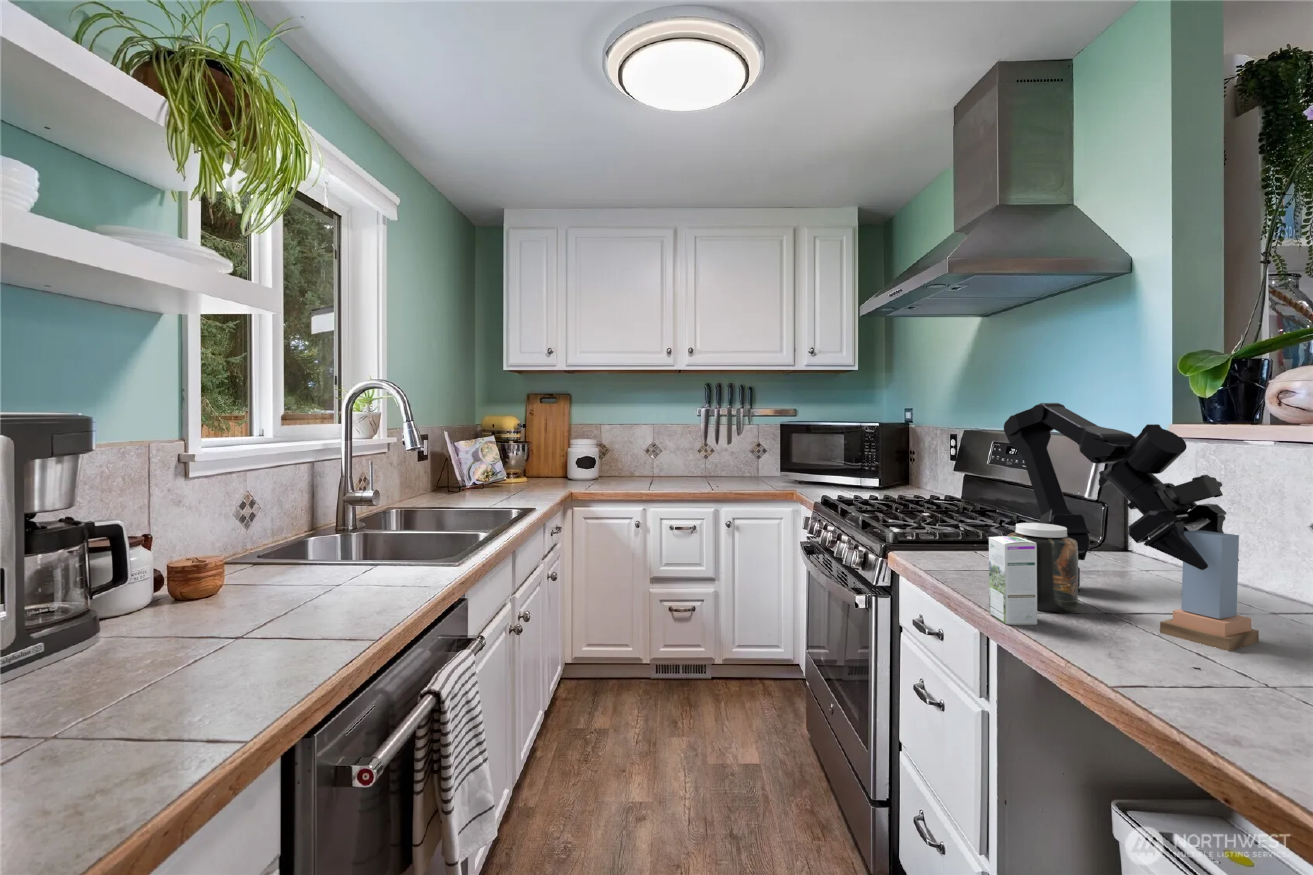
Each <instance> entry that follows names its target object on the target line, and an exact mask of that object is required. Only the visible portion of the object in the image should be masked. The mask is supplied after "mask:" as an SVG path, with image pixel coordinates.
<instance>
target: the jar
mask: <svg viewBox="0 0 1313 875" xmlns="http://www.w3.org/2000/svg"><path fill="white" fill-rule="evenodd" d="M1006 536H1015V537H1020V538H1023V539H1026V540H1029V541H1032V542H1035V543H1037V611H1040V612H1046V613H1048V612H1049V613H1070V612H1071V613H1072V612H1075V611H1078V607H1079V592H1078V588H1079V587H1078V567H1079V560H1078V546H1077V542H1076V540H1074V539H1072V538H1070V537H1067V536H1068V535H1067V528H1066V527H1063V526H1058V525H1052V524H1043V523H1039V522H1020V523H1016V524H1015V531H1014V532H1011V533H1008V534H1007V535H1006Z"/></svg>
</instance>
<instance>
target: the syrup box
mask: <svg viewBox="0 0 1313 875" xmlns="http://www.w3.org/2000/svg"><path fill="white" fill-rule="evenodd" d="M988 598H989V599H988V600H989V603H988V604H989V605H988V609H989V610H988V612H989V614H988V615H990V616H991V617H993V618H994V619H997V620H998V621H1000V622H1001V623H1003V624H1005V625H1013V626H1018V625H1019V626H1025V625H1026V626H1029V625H1030V626H1032V625H1033V626H1034V625H1038V610H1037V543H1035V542H1032V541H1029V540H1026V539H1023V538H1020V537H1015V536H1007V535H1001V536H989V537H988Z"/></svg>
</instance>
